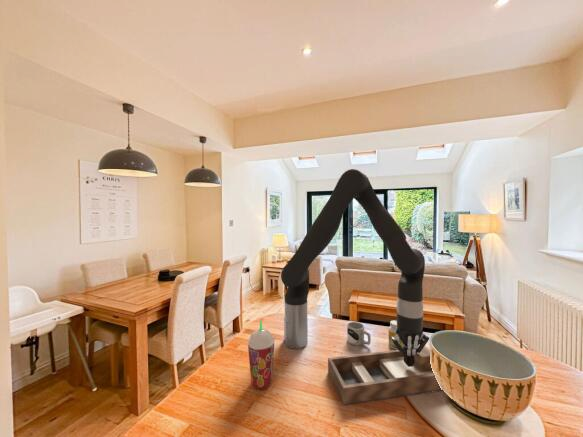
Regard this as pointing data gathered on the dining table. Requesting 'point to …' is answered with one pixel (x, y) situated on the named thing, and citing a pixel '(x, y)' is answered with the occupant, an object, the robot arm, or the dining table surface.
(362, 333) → the mug
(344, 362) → the wooden compartment tray
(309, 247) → the robot arm
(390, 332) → the supplement bottle
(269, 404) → the dining table surface
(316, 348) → the dining table surface
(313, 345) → the dining table surface
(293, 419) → the dining table surface
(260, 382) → the smoothie
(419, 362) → the walnut block
